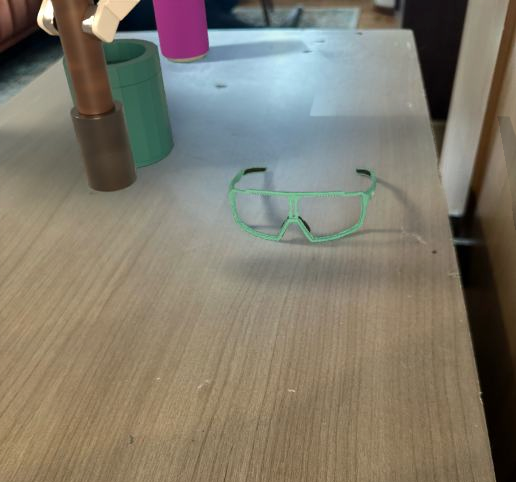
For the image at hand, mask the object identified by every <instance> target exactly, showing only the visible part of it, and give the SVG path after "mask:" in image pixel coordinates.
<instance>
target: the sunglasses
mask: <svg viewBox="0 0 516 482" xmlns="http://www.w3.org/2000/svg"><path fill="white" fill-rule="evenodd" d="M267 171H268V167H267V166H249V167H244V168H242V169H240V170H239V171H238V172H237V173H236V174H235V175H234V176H233V178H232V179H231V180H230V181H229V184H228V200H229V203H230V208H231V209H230V210H231V213H232V216H233V218H234V220H235V223H236V224H237V225H238V226H239V227H240V228H241V229H242V230H244V231H245V232H247V233H249V234H250V235H252V236H256V237H258V238H261V239H264V240H267V241H268V240H269V241H274V242H276V241H277V242H278V241H280V240H281V239H282V238H283V237H284V235H285V233H286V231H287V228H288V227H289V225H290V224H297V225H298V227H299V228H300V230H301V231H302V233H303V234H304V236H305V237H306V239H308V241H309V242H311V243H321V242H327V241H333V240H337V239H340V238H343V237H346V236H348V235H350V234H353V233H355V232H356V231H358V230H359V229H360V228H362V226H363V223H364V222H365V221H364V220H365V218H366V214H367V205H368V203H370V201H371V200H373V198H374V197H375V194H376V191H377V177H376V174H375V172H374V171H373V170H372V169H370V168H366V167H358V168H355V173H356V174H357V175H360V176H367V177H369V178H370V179H371V181H372V183H371V185H370V187H368V189H366V190H365V191H363V190H359V191H357V190H356V191H349V192H344V191H342V190H329V191H325V190H324V191H285V190H283V191H282V190H266V189H256V188H248V189H246V190H245V189H239V188H235V185H236V184H237V183H239V182H240V180H242V178H243V177H246V176H248V175H252V174H264V173H267ZM236 194H242V195H250V194H252V195H260V196H273V197H275V196H276V197H286V198H287V200H288V208H289V209H288V216H287V217H286V219H285V220H284V221H283V222H282V223H281V226H280V230H279V232H278V234H277V235H272V234H267V233H264V232H261V231H260V232H259V231H258V230H255V229H254V228H252V227H250V226H248V225H247V224H246V223H245V222H243V221H242V220H241V219H240V216H239V214H238V211H237V210H238V209H237V205H236ZM339 195H340V196H341V197H343V198H345V197H354V196H360V207H361V209H360V216H359V220H358V222H357V223H356V224H354V225H353V226H351V227H349V228H347V229H345V230H343V231H341V232H337V233H334V234H329V235H325V236H313V235H312V234H311V231H312V230H311V227H310V226H309V223H308V222H307V221H306V220H305V219H303V217H301V216H300V215H299V199H300V198H301V197H338V196H339ZM293 201H294V215H293Z"/></svg>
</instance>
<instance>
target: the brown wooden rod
mask: <svg viewBox="0 0 516 482" xmlns="http://www.w3.org/2000/svg"><path fill="white" fill-rule="evenodd" d="M51 3H52V7H53V11H54V15H55V19H56V23H57V28H58V32H59V36H58V37H59V39H60V43H61V48H62V51H63V57H64V56H65V60H66V64H67V68H68V72H69V76H70V80H71V84H72V88H73V92H74V97H75V101H76V106H74V105H73V107H71V109H70V112H69V114H70V119H71V121H72V124H73V130H74V133H75V138H76V141H77V145H78V149H79V153H80V157H81V161H82V164H83V169H84V172H85V177H86V181H87V185H88V187H89V188H90V189H92V190H93V191H96V192H101V193H112V192H113V193H114V192H118V191H122V190H124V189H127V188H129V187H131V186H132V185H133V184H135V183H136V182H137V180H138V173H137V168H135V163H134V157H133V152H132V147H131V142H130V137H129V132H128V127H127V122H126V117H125V112H124V107H123V104H122V103H121V102H120V101H118V100H115V99H114V98H113V93H112V88H111V83H110V78H109V74H108V69H107V64H106V59H105V54H104V49H103V45H102V41H96V40H92V39H91V38H90V36H88V35H86V34H85V33H84V32H83V31H82V28H81V23H82V20H83V19H84V18H85V11H86V8H87V6H88V4H93V5H95V2H94V0H51Z"/></svg>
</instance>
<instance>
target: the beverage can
mask: <svg viewBox="0 0 516 482" xmlns="http://www.w3.org/2000/svg"><path fill="white" fill-rule="evenodd" d="M152 4H153V11H154V16H155V23H156V30H157V35H158V42H159V49H160V52H161V56H163V57H164V58H165V59H166V60H167V61H169V62H172V63H182V64H183V63H190V62H196V61H198V60H202V59H203V58H205V56H206V55H207V53H209V51H210V41H209V32H208V30H209V29H208V22H207V12H206V4H205V0H152Z"/></svg>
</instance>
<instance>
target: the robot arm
mask: <svg viewBox="0 0 516 482" xmlns="http://www.w3.org/2000/svg"><path fill="white" fill-rule="evenodd" d="M140 1H141V0H98V2H96V4H94V5H93V4H88V6H87V8H86V11H85V18H84V19H83V20H82V23H81V28H82V31H83V32H84V33H85V34H86V35H88V36H90V38H91V39H92V40H96V41H102V42H109V43H110V42H112V41H113V39H115V35H116V33H117V30H118V27H119V24H120V21H122V20H124V18H125V17H126V16H128V14H129V13H130V12H131V11H132V10H133V9H134V8H135V7H136V5H138V4H139V2H140ZM36 22H37V25H38V26H39V27H40V28H41V30H43V31H44V32H45V33H47V34H48V35H50V36H56V37H57V36H58V37H60V36H59V32H58V28H57V23H56V19H55V15H54V11H53V7H52V3H51V0H42V2H41V5H40V9H39V11H38V14H37V18H36Z"/></svg>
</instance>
